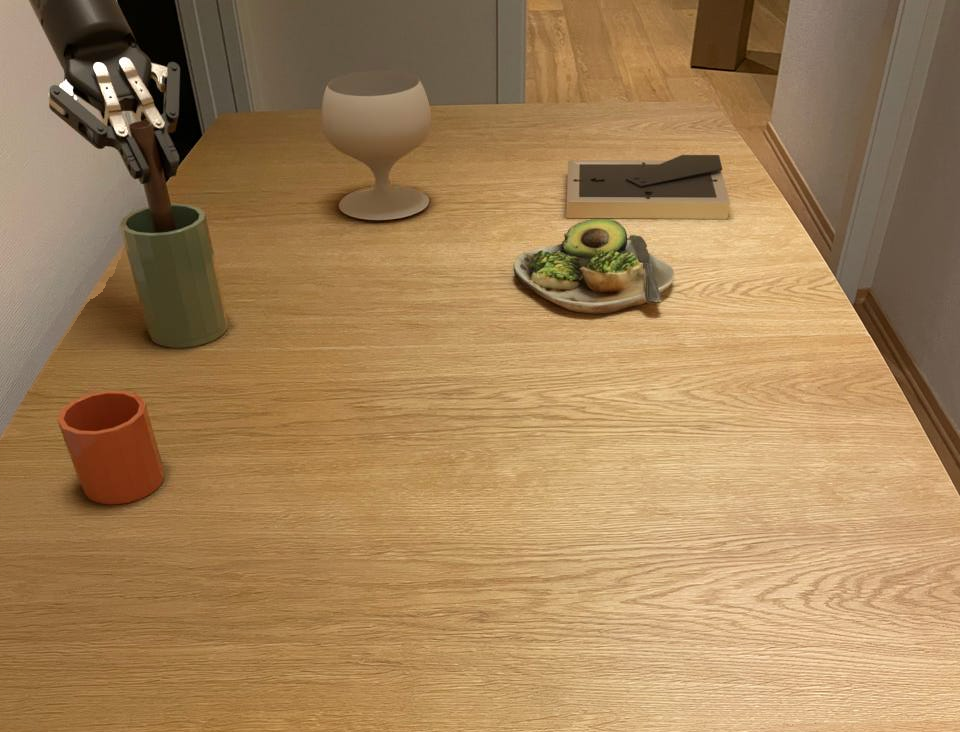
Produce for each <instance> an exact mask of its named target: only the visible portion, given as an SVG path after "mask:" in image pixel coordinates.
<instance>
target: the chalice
mask: <svg viewBox="0 0 960 732" xmlns="http://www.w3.org/2000/svg"><path fill="white" fill-rule="evenodd" d="M321 127H322V132H323V135H324V136H325V138H326V140H327V141H328V142H329V143H330V145H331V146H332V147H333V148H334V149H336V150H337V151H339V152H340V153H342V154H344V155H347V156H349V157H351V158H353V159H354V160H357V161H359V162H361V163H363V165H366V166H367V167H368V168H369V169H370V170H371V172H372V174H373V176H374V180H375V181H374V186H369V187H364V188H361V189H358V190H354V191H352V192H350V193H347V195H345V196H344V197H343V198H342V199H341V200H340V201H339V203H338V208H339V210H340V211H341V212H342V213H343V214H345V215H346V216H349V217H352V218H356V219H361V220H368V221H386V220H389V221H390V220H395V219H403V218H405V217H410V216H413V215H415V214H417V213H420V212H421V211H423V210H425V209H426V208H427V207H428V205H429V203H430V198H429V197H428V195H427V194H425V193H424V192H422V191H421V190H419V189H416V188H413V187H411V186H410V187H409V186H404V185H391V183H390V179H389V178H390V172H391V170H392V168H393V166H394V165H395V164H396V163H398V161H399V160H401V159H402V158H403V157H405V156H406V155H408V154H410V153H411V152H413V151H414V150H416V149H417V148H419V147H420V146H421V145H422V144H423V143H424V142H425V140H426V139H427V137H428V135H429V134H430V132H431V128H432V111H431V106H430V103H429V100H428V96H427V93H426V90H425V87H424V85H423V84H422V82H421V80H420V78H419V77H417V76H416V75H414V74H413V73H408V72H405V71H398V70H387V69H386V70H385V69H383V70H381V69H379V70H376V69H375V70H363V71H355V72H349V73H346V74H343V75H340V76H337V77H334V78H333V79H331V80H330V81H328V83H327V85H326V88H325V90H324V93H323V97H322V103H321ZM393 187H397V188H393ZM372 188H373V190H369V191H364V190H368V189H372ZM361 191H364V192H361ZM359 192H361V193H359ZM357 193H358V194H357ZM356 194H357V195H356ZM414 194H415V195H414Z"/></svg>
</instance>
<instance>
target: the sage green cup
mask: <svg viewBox="0 0 960 732" xmlns="http://www.w3.org/2000/svg"><path fill="white" fill-rule="evenodd" d="M171 207H172V211H173V216H174V220H175V224H176V229H177V230H174V231H169V232H162V233H155V231H154V227H153V223H152V219H151V215H150V211H149V206H145V207H142V208H139V209H138V210H137V209H136V210H134V211H132V212H129V213H128V214H126V215H125V216H124V217H122V218H121V219H120V223H119V227H120V228H119V229H120V233H121V236H122V241H123V243H124V247H125V251H126V254H127V258H128V262H129V266H130V270H131V273H132V277H133V280H134V284H135V288H136V292H137V295H138V299H139V303H140V308H141V311H142V314H143V319H144V322H145V325H146V330H147V331H148V334H149V335H148V336H149V337H150V339H151V341H152V342H153V343H155V344H157V345H159V346H162V347H166V348H173V349H184V348H193V347H198V346H203V345H206V344H208V343H211V342H213V341H215V340H217V339H219V338H220V337H222V336H223V335H224V334H225V333H226V331H227V330H228V325H229V324H228V319H227V318H228V316H227V311H226V307H225V302H224V297H223V292H222V288H221V283H220V277H219V272H218V268H217V264H216V259H215V254H214V249H213V244H212V240H211V235H210V230H209V225H208V221H207V215H206V212H205V211H204V210H202V208H200V207H198V206H195V205H191V204H186V203H171Z"/></svg>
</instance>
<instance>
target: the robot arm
mask: <svg viewBox="0 0 960 732" xmlns="http://www.w3.org/2000/svg"><path fill="white" fill-rule="evenodd" d="M28 2H29V4H30V6H31V8H32V10H33V13H34V14H35V16H36V18H37V19H38V20H37V21H38V22H39V25H40V26H41V28H42V31H43V32H44V34H45V36H46V38H47V40H48V42H49V44H50V46H51V48H52V50H53V52H54V54H55V56H56V58H57V60H58V61H59V65H60V66H61V68H62V70H63V74H64V75H63V81H62V82H61V83H60V84H59V85H57V84H52V85H51V86H50V87H49V92H48V108H49V110H50V111H51V112H53V113H54V114H55V115H56V116H58V118H60V119H61V120H62V121H63V122H65V123H66V124H67V125H68V126H69V127H70V128H72V129H73V130H74V131H75V132H77V133H78V134H79V135H80V136H81V137H82V138H84V140H86V141H87V142H89V144H91V145H92V146H93V147H94V148H96V149H98V150H103V149H104V148H105V147H109V148H114V149H115V150H117V152H118V153H119V155H120V157H121V160H122V162H123V163H124V165H125V167H126V169H127V171H128V173H129V176H131V178H132V179H134V180H138V181H139V183H140V185H143V184H145V183H149V180H150V175H151V173H150V169H149V167H148V165H147V163H146V161H145V159H144V157H143V155H142V153H141V151H140V149H139V147H138V145H137V143H136V141H135V139H134V137H133V136H132V137H131V135H130V133H129V129H128V127H127V124H126V121H125V118H124V117H123V113H122V112H131V114H132V116H133V118H134V119H135V122H139V121H148V122H151V123H152V124H153V128H154V133H155V137H156V141H157V146H158V150H159V154H160V159H161V163H162V167H163V172H164V174H165V175H166V177H167V178H172V177H176V176H177V173H178V169H179V165H180V162H181V161H180V160H181V159H180V154H179V153H178V150H177V148H176V146H175V144H174V142H173V140H172V138H171V136H170V134H171V133H174V132H175V131H176V129H177V125H178V121H179V116H180V93H181V91H180V87H181V67H180V65H179V63H177V62H175V61H170V62H168V63H167V66H165V65H161V64H158V63H154V62H152V61H151V58H150V57H149V56H148V55H147V54H146V53H145V52H144V51H142V50H141V48H140V47H139V44H138V43H137V40H136V38H135V36H134V33H133V30H132V29H131V27H130V25H129V24H128V21H127V19H126V17H125V15H124V13H123V11H122V9H121V7H120V5H119V3H118V1H117V0H28ZM151 79H153V80H154V81H155V83H156V87H157V89H158V90H159V91H160V92H161V93H163V113H160V112H159V110H158V109H157V107H156V106H155V101H154V99H153V96H152V95H151V93H150V91H149V85H150V80H151ZM78 99H81V100H82V101H84V102H85V103H86V104H88V105H90V106H91V107H93V108H94V109H96V110H97V111H98V113H99V116H100V118H101V120H100V119H99V118H98V117H97V116H96V115H94V114H93V113H92V112H91V111H89V110H88V109H87V108H86V107H85V106H84V105H82V104H81V103H80V102H79V101H78Z"/></svg>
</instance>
